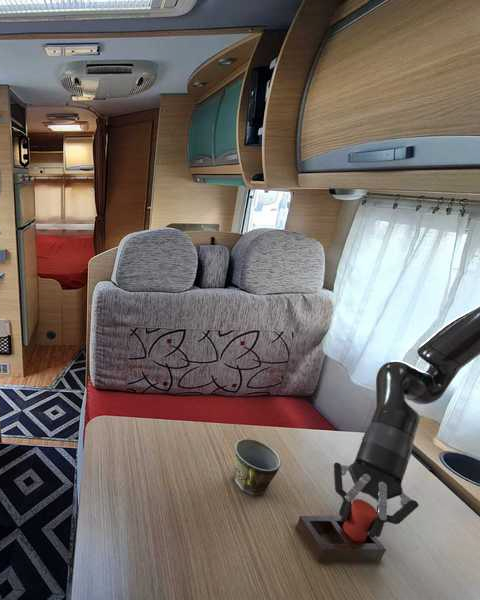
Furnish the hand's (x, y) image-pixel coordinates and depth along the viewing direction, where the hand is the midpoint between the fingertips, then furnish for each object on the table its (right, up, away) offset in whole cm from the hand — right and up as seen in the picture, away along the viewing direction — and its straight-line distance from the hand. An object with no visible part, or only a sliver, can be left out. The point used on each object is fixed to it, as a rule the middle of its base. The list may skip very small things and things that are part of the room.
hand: (357, 528), depth 66 cm
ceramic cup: (-14, -1, +16) cm, 21 cm away
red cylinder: (+1, -4, +3) cm, 5 cm away
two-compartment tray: (-2, -6, +4) cm, 7 cm away
